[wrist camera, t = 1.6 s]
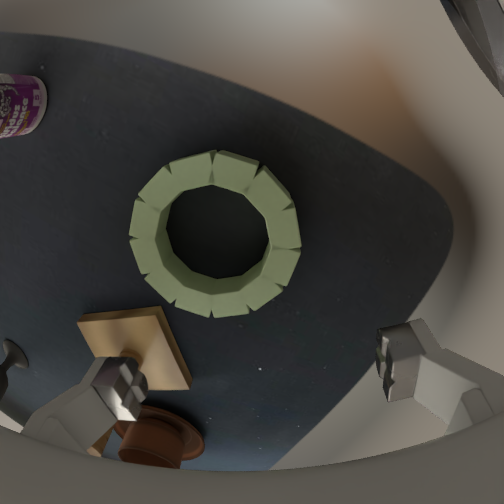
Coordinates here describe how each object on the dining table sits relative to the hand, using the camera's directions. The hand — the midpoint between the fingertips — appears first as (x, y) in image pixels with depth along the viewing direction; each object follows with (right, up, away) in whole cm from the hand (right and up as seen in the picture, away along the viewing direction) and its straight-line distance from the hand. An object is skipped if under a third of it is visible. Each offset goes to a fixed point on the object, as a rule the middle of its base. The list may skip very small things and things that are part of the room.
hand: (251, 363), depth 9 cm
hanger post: (-11, -6, +18) cm, 22 cm away
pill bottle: (-19, +16, +10) cm, 27 cm away
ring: (-3, +5, +13) cm, 14 cm away
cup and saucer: (-11, -18, +24) cm, 32 cm away
